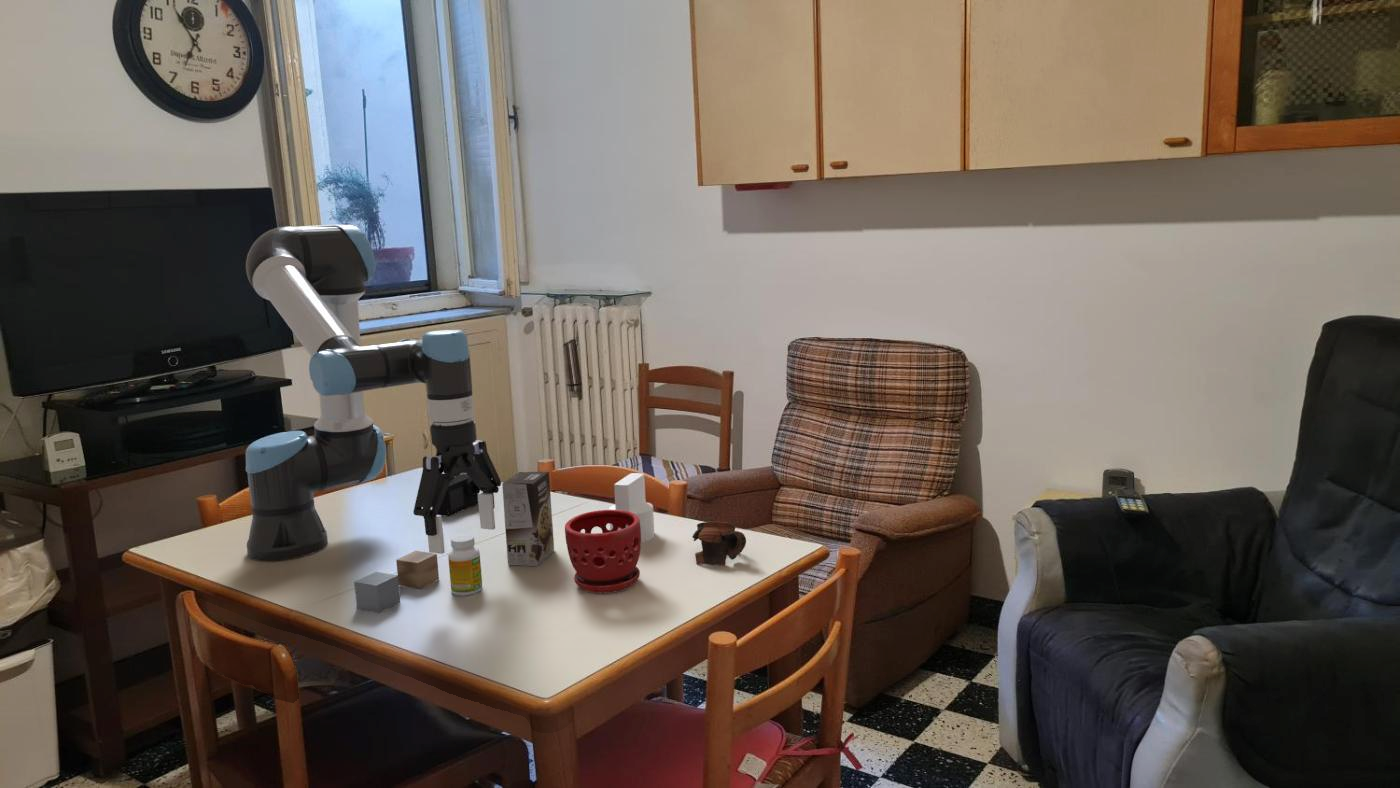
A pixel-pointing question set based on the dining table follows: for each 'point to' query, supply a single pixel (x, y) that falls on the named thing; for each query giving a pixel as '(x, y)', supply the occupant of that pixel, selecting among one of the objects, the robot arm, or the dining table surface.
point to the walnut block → (417, 569)
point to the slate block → (377, 592)
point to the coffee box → (528, 518)
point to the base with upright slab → (634, 503)
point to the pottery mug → (718, 542)
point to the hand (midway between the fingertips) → (463, 540)
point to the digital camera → (459, 495)
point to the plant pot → (604, 550)
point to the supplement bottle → (464, 566)
